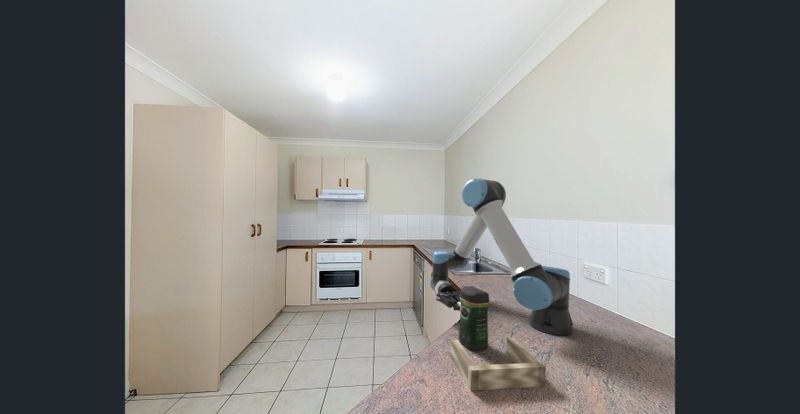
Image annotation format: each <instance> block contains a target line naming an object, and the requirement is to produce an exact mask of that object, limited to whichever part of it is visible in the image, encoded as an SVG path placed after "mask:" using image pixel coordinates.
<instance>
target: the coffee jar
mask: <svg viewBox="0 0 800 414" xmlns="http://www.w3.org/2000/svg"><path fill="white" fill-rule="evenodd" d="M459 294H460V302H461V313H460V316H459V329H458V341H459V343H460V344H461V345H463V346H465V347H466V348H468V349H469V350H475V351H481V350H484V349H486V348H488V346H489V334H488V333H489V331H488V322H489V321H488V320H489V319H488V310H489V306H490V294H489V293H488V292H487V291H483V290H482V289H479V288H477V287H475V286H474V285H469V286H467V285H466V286H463V287H462V288H461V289H460V293H459Z"/></svg>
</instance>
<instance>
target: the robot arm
mask: <svg viewBox="0 0 800 414" xmlns="http://www.w3.org/2000/svg"><path fill="white" fill-rule="evenodd" d="M506 197H507V192H506V188H505V187H504V186H503V184H501V183H500V182H499V181H496V180H490V179H485V178H478V177H477V178H472V179H469V180H468V181H467V182H466V183H465V184H464V186H463V188H462V191H461V198H462V199H461V200H462V202H463V203H464V204H465V206H468V207H470V208H472V210H473V211H474V213H475V214H474V216H473V218H472V219H471V221H470V223H469V224H468V227H467V228H466V230H465V232H464V233H463V235H462V237H461V238H460V240H459V242H458V244H457V245H456V247H455V249H454V250H453V253H451V254H449V252H448V251H442V250H440V251H439V250H438V251H434V252H433V253H432V254H433V255H432V270H431V271H432V273H431V278H430V279H429V285H430V288H431V289H432V290H433V292H434V293H435V294H436V295H435V296H436V297H435V301H437V302H439V303H441V304H443V305H444V306H446V307H447V308H449V309H452V308H453V311H454V312H455V311H458V312H459V313H460V314H461V302H460V293H459V292H458V291H457V289H456V288H455V287H454V286H453V285H452V284H451V283H450V282H449V271H454V270H460V269H463V268H466V267H468V265H469V263H470V262H469V261H470V258H469V257H470V255H471V253H472V252H473V250H474V249H475V247H476V246H477V244H478V242H479V241H480V240H481V237H482V235H483V234H484V233H485V231H487V230H486V229H488V231H489V233H490V235H491V236H492V238H493V240H494V242H495V243H496V245H497V246H498V248H499V250H500V251H499V252H501V254H502V256H503V258H504V259H505V262H506V263H507V265H508V266H509V269H510V271H511V275H510V279H511V281H512V283H513V288H512V292H513V296H514V299H515V300H516V301H517V303H519V304H520V305H521V306H522V307H524V308H525V309H528V310H530V311H531V313H530V315H529V317H528V319H529V320H528V323H529V325H530V326H531V327H532V328H534V329H536V330H538V331H540V332H544V333H546V334H550V335H554V336H555V335H556V336H570V335H572V334H573V333H574V323H573V319H572V316H571V313H570V310H569V309H570V308H569V307H570V306H569V305H570V285H571V284H570V283H571V277H570V275H571V274H570V271H569V270H568V269H564V268H560V267H553V266H546V265H542V264H541V263H539V262H536V261H534V259H533V257H532V255H531V254H530V252H529V251H528V249H527V247H526V245H525V244H524V242H523V240H522V239H521V237H520V236H519V234H518V233H517V230H516V229H515V227H514V226H513V224H512V221H510V219H509V217H508V215H507V214H506V212H505V211H504V209H503V206H504V204H505V202H506Z"/></svg>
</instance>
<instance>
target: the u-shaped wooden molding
mask: <svg viewBox="0 0 800 414" xmlns="http://www.w3.org/2000/svg"><path fill="white" fill-rule="evenodd" d="M505 351H506V352H505V355H507V356H508V357H509V358H510V360H511V361H513V363H503V364H501V363H500V364H480V365H477V364H476V363H475V362H474V361H473V359H472V358H471V357H470V355H469V354H468V353H467V351H466V349H465V348H464V347H463V344H462V343H461V342H460V340H459V339H450V354H449V355H450V358H451V359H452V361H453V363H454V365H455V367H456V369H457V370H458V372H459V373H460V375H461V377H462V379H463V380H464V382H465V383H466V385H467V386H468V388H469V390H470V391H472V392H473V391H484V390H485V391H486V390H489V391H490V390H502V389H506V390H507V389H516V388H517V389H519V388H521V389H522V388H536V387H546V375H547V374H546V370H547V368H546V367H547V366H546V365H545V364H543V362H541V361H540V360H539V359H538V358H536V356H534V355H533V354H532V353H531V352H530V351H528V350H527V349H526V348H525V347H524V346H523V345H522V344H520V343H519V342H518V341H517V339H515V338H513V337H507V338H506V349H505Z"/></svg>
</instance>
